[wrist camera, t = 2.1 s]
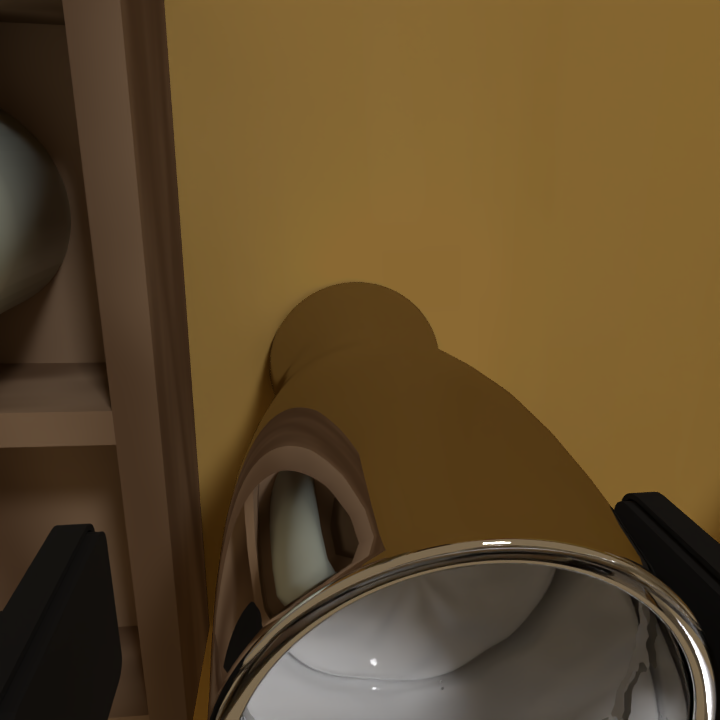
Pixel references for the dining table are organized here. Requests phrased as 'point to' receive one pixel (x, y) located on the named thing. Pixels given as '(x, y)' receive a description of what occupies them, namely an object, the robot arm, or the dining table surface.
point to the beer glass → (430, 549)
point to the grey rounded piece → (29, 214)
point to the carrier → (107, 340)
